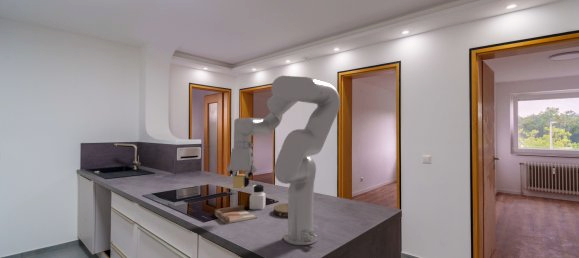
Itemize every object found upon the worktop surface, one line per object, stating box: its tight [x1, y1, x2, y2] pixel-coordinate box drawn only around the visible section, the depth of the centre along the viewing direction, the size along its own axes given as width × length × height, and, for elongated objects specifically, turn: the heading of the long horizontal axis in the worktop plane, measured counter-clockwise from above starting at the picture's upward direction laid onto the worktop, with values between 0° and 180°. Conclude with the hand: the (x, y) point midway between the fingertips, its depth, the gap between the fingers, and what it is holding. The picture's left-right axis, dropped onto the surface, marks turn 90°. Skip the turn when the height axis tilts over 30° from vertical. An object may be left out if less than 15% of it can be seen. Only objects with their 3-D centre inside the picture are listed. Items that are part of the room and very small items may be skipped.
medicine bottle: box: [249, 184, 266, 210], centre depth 146 cm, size 7×7×12 cm
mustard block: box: [232, 173, 246, 189], centre depth 124 cm, size 4×8×5 cm, turn 166°
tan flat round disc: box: [273, 202, 288, 219], centre depth 137 cm, size 16×16×3 cm
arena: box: [213, 204, 258, 225], centre depth 130 cm, size 16×15×2 cm
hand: (241, 185), depth 124 cm, fingers closed on mustard block, 4 cm apart
